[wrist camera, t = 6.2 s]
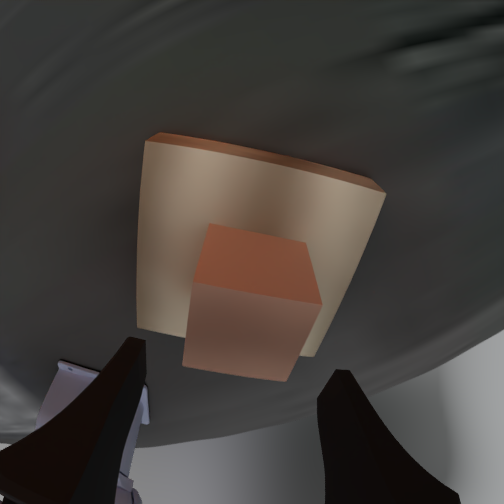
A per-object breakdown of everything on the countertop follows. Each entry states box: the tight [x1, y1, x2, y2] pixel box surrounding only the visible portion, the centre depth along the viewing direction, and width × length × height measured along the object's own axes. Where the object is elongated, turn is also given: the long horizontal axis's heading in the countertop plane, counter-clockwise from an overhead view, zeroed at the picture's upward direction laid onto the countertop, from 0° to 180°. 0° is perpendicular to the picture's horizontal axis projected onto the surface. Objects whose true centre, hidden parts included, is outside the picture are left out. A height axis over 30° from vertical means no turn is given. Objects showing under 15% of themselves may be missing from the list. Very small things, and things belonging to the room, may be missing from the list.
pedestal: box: [137, 132, 386, 357], centre depth 19 cm, size 12×12×3 cm
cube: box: [182, 223, 323, 382], centre depth 15 cm, size 5×5×5 cm
